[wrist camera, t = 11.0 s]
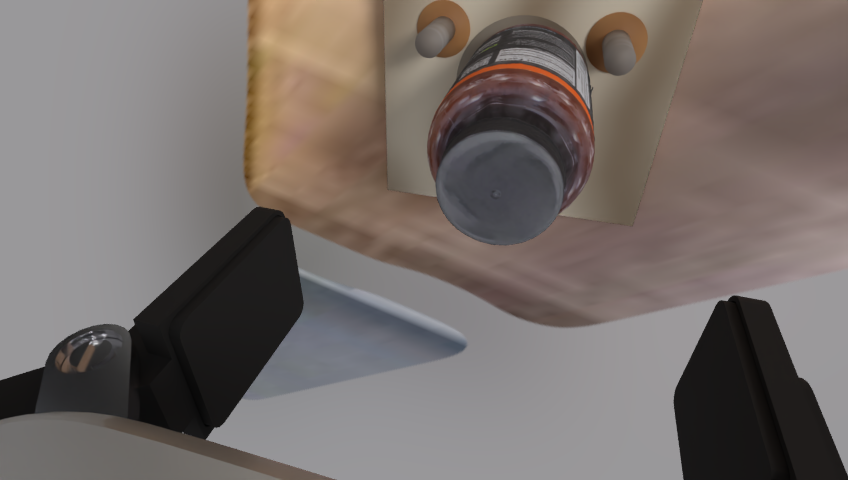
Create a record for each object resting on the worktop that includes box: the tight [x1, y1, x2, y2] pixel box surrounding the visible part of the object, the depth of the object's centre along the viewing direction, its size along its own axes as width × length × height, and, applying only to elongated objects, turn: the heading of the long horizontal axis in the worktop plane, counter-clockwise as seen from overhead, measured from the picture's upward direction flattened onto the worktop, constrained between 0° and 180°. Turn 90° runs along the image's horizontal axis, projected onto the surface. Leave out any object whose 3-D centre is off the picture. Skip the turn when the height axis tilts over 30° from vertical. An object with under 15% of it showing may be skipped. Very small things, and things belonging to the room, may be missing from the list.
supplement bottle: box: [427, 24, 595, 245], centre depth 20 cm, size 6×6×11 cm
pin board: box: [383, 0, 703, 226], centre depth 24 cm, size 14×14×4 cm
